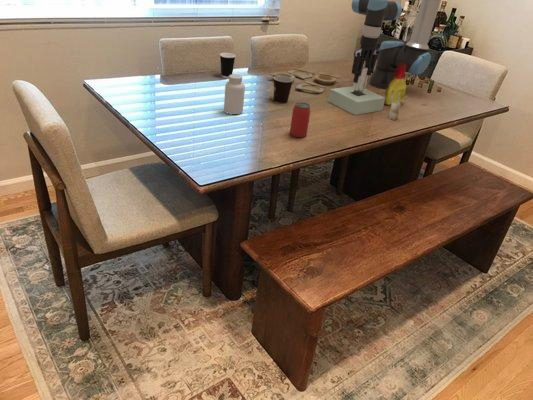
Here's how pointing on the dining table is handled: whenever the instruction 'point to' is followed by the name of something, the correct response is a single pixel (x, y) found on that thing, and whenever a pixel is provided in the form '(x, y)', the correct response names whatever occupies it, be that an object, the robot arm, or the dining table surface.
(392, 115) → the short pin
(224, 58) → the dixie cup
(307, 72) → the tableware set
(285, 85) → the coffee mug
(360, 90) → the long pin
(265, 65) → the dining table surface
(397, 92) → the bottle
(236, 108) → the pill bottle
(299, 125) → the beer can
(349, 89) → the pin block
